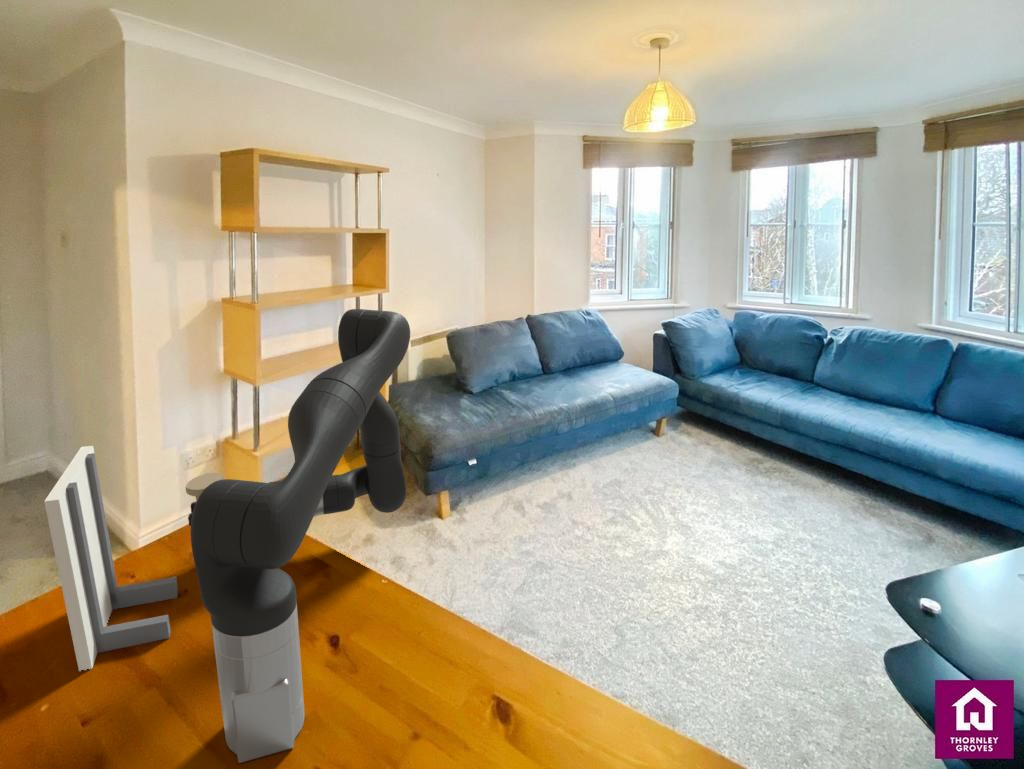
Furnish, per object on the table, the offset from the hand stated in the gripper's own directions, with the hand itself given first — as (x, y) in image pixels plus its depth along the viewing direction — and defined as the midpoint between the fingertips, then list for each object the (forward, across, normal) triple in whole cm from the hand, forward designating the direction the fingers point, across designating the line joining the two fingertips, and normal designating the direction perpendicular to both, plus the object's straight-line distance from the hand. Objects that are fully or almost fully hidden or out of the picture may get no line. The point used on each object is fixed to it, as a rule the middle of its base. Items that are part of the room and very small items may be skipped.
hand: (190, 514), depth 103 cm
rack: (+8, +13, +10) cm, 18 cm away
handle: (-3, 0, +9) cm, 10 cm away
